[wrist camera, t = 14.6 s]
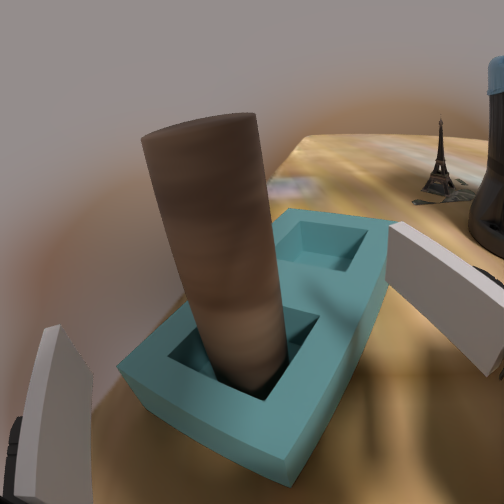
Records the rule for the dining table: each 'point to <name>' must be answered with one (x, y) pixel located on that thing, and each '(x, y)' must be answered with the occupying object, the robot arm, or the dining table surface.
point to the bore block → (298, 341)
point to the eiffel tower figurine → (444, 180)
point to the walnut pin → (223, 244)
